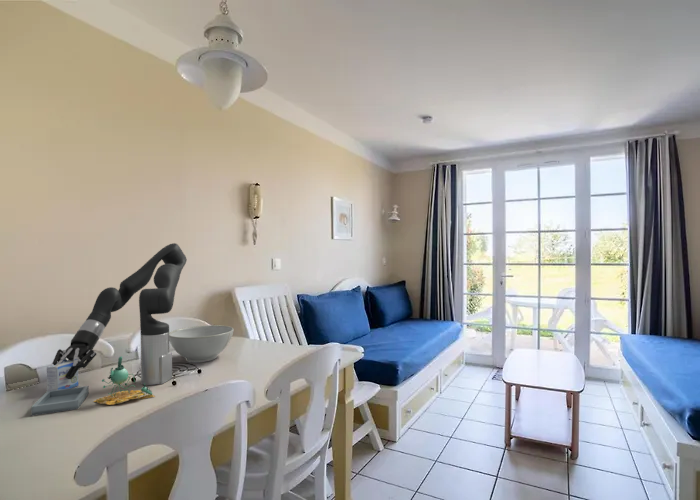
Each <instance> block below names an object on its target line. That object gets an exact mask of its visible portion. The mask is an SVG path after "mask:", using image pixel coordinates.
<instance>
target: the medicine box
mask: <svg viewBox="0 0 700 500" xmlns="http://www.w3.org/2000/svg"><path fill="white" fill-rule="evenodd" d="M73 363H74V361H67V362H63V363H60V364H57V365H53V364H52V365H51V366H47V367H46V392H47V391H52V390H60V389H68V388H76V387H79V369H78V370H77V372H76V373H75V375H74V377H73V378H72V379H67V378H66V374H67V373H68V371H69V370H70V368H71V367H73Z"/></svg>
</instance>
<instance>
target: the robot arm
mask: <svg viewBox="0 0 700 500" xmlns="http://www.w3.org/2000/svg"><path fill="white" fill-rule="evenodd" d="M161 261H162V263H164V264H161V265H160V266H159V267H158V268H157V266H158V264H160V262H161ZM186 263H187V257H186V255H185V253H184V252H183V250H182V248H181V247H180V245H179V244H178V243H175V242H174V243H170V244H167V245H165V246H164V247H162V248H160V250H158V251H157V252H156V253H155V254H154V255H153V256H152V257H151V258H150V259H149V260H148V261H145V263H144V264H143V265H142V266H140V268H139V269H138V270H136V271H134V272H133V273H132V274H131V275H129V276H128V277H126V278H125V279H123V280H122V281H121V282H120V284H119V288H118V289H117V288H116V287H112V286H111V287H107V288H104V289H103V290H101V292H99V294H98V295H97V297H96V300H95V302H94V304H93V308H92V311H91V312H90V314H89V315H88V316H87V318H86V319H85V321H84V322H83V323H82V324H81V326H79V329H78V330H77V332H76V333H75V334H74V336H73V337H72V338H71V340H70V345H69V346H68V347H67V348H66V349H61V348H59V349H58V350H57V352H56V354H55V356H54V359H53V361H52V366H53V365H57V364H60V363H63V362H67V361H74V363H73V367H71V368H70V370H69V371H68V373H67V374H66V378H67V379H72V378H73V377H74V375H75V373H76V372H77V370H78V371H79V370H80V369H82V368H83V369H85V368H86V367H88V365H89V364H90V363H91V362H92V360H94V358H95V357H96V356H97V353H96V351H95V350H94V348H95V346H96V345H97V343H98V342H99V340H100V338H101V337H102V336H103V335H102V334H103V333H104V331H105V329H106V327H107V325H108V324H109V322H110V320H111V318H112V313H114V312H117V311H119V310H121V309H122V308H123V307H124V306H125V305H127V303H128V302H129V301H130V300H131V299H132V297H133V296H134V295H135V294H136V293H137V292H139V291H140V290H141V291H140V293H139V296H138V306H139V320H140V321H139V326H140V327H139V328H140V384H142V385H144V383H145V386H151V385H152V386H153V385H158V384H159V385H160V384H162V385H163V384H164V383H166V382H168V381H170V380H172V379H173V353H172V351H171V352H170V341H169V333H170V325H169V323H167V322H163V321H160V320H158V319H155V318H154V317H153V316H152V315H162V314H164V315H165V314H168V313H170V312H171V311H172V309H173V306H174V303H175V295H176V289H177V287H178V283H179V280H180V276H181V274H182V270H183V269H184V267H185V265H186ZM155 270H156V271H155ZM154 272H155V274H154ZM153 275H154V276H153ZM152 278H153V284H154V287H156V288H144V287H145V286H147V285H148V284H149V283H150V281H151V279H152Z"/></svg>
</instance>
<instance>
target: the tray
mask: <svg viewBox="0 0 700 500" xmlns="http://www.w3.org/2000/svg"><path fill="white" fill-rule="evenodd" d="M89 394H90V386H89V385H85V386H76V387H73V388H68V389H60V390H52V391H47V390H46V392H45V393H44V394H43V395H41V397H40V398H39V399H38V400H37V401H36V402H35V403H33V405H32V406H31V416H32V417H33V416H39V415H45V414H52V413H59V412H66V411H72V410H79V409H80V407H81V405H82V404H83V403H84V401H85V400H86V398H87V397H88V396H89Z"/></svg>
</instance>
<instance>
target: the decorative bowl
mask: <svg viewBox="0 0 700 500" xmlns="http://www.w3.org/2000/svg"><path fill="white" fill-rule="evenodd" d="M233 335H234V327H232V326H229V325H219V324H218V325H217V324H216V325H215V324H213V325H199V326H198V325H197V326H190V327H189V326H188V327H184V328H183V327H182V328H178V329H175V330H171V331H169V344H170V345H171V347H172V348H173V349H174V351H175V352H176V353H177V354H178V355H180V356H181V357H182V358H185V360H186V361H187V362H188V363H205V362H209V361H213V360H216V358H218V355H219V354H221V353H222V352H223V351H224V350H225V349H227V346H228V344H229V343H230V342H231V340H232V337H233Z"/></svg>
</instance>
